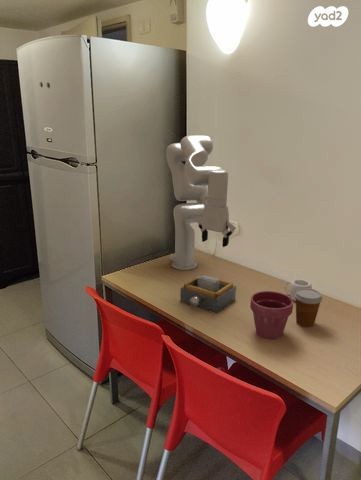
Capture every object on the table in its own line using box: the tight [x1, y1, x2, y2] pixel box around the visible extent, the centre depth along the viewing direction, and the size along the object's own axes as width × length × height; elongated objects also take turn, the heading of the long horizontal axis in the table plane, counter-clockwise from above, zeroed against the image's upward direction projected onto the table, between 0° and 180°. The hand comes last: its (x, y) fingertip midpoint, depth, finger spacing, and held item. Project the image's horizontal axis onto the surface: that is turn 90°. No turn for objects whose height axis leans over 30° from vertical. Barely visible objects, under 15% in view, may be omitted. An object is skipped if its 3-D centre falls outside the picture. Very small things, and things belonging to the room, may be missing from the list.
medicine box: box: [198, 274, 220, 293], centre depth 159 cm, size 8×4×9 cm, turn 56°
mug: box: [284, 278, 313, 302], centre depth 162 cm, size 12×8×8 cm
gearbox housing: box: [179, 274, 237, 315], centre depth 158 cm, size 17×19×8 cm
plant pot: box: [249, 290, 294, 340], centre depth 136 cm, size 14×14×13 cm
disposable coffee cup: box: [295, 288, 323, 328], centre depth 142 cm, size 10×10×12 cm
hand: (214, 243), depth 158 cm, fingers open, 9 cm apart
